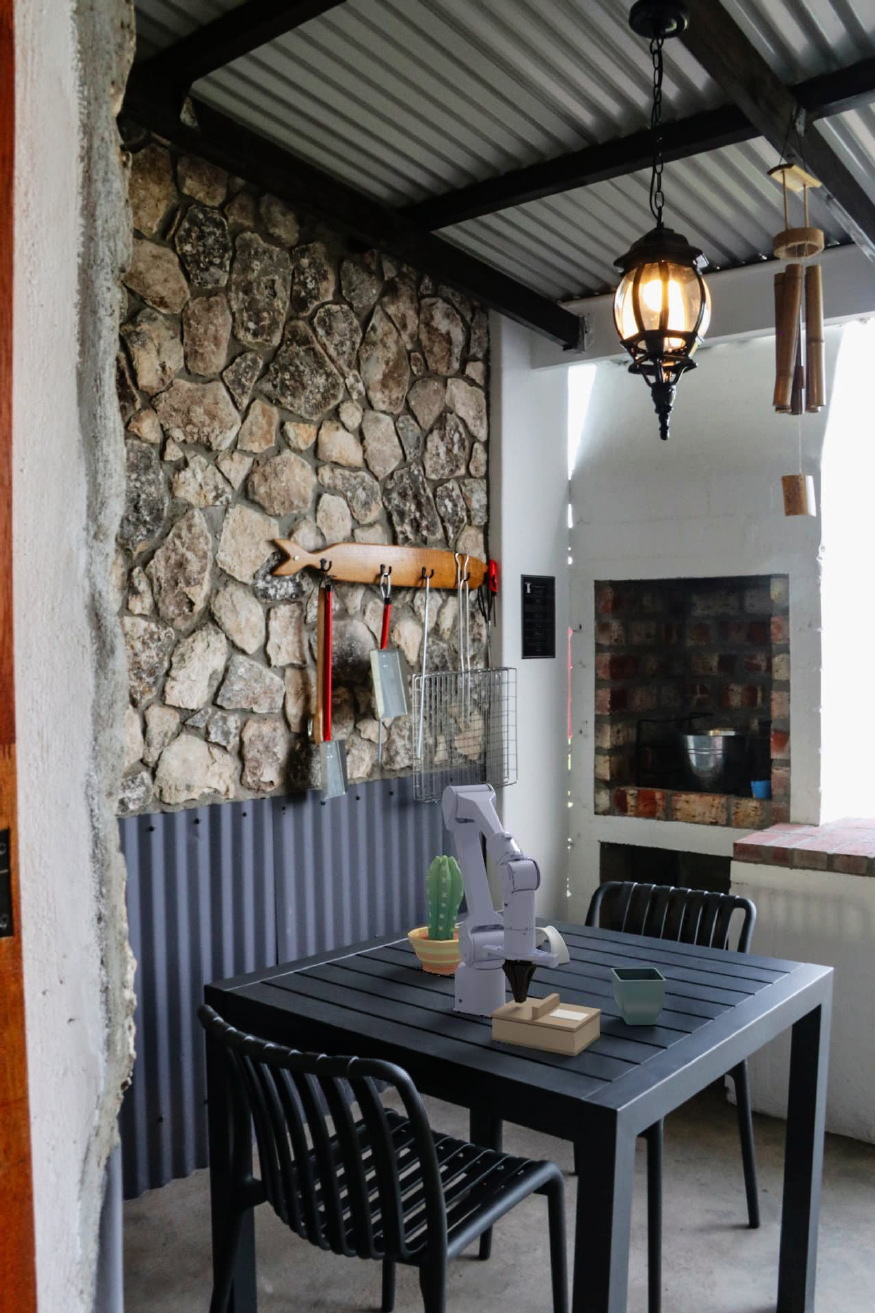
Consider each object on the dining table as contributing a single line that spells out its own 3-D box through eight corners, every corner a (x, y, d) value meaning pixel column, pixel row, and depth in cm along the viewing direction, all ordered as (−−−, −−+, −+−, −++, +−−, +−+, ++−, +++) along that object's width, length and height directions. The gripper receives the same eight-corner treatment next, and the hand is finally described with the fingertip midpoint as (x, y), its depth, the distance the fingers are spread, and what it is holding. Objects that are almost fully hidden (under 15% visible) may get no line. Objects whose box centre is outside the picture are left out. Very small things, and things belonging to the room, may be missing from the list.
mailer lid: (490, 1016, 193) (490, 1002, 193) (519, 999, 203) (519, 985, 203) (574, 1032, 184) (574, 1016, 184) (601, 1012, 194) (601, 998, 194)
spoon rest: (490, 944, 261) (490, 914, 261) (532, 938, 266) (532, 909, 266) (539, 968, 239) (539, 936, 240) (584, 962, 244) (584, 930, 244)
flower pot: (656, 1013, 207) (655, 966, 207) (667, 1029, 198) (667, 980, 198) (610, 1014, 207) (610, 967, 207) (620, 1030, 198) (619, 981, 198)
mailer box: (492, 1040, 193) (492, 1018, 193) (520, 1023, 202) (520, 1001, 202) (574, 1056, 185) (574, 1033, 185) (599, 1037, 194) (599, 1014, 194)
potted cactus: (478, 979, 231) (476, 862, 231) (406, 980, 231) (404, 863, 231) (477, 960, 246) (475, 850, 246) (409, 960, 246) (408, 851, 246)
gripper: (474, 926, 197) (475, 1001, 196) (546, 936, 189) (547, 1014, 189) (492, 918, 203) (493, 991, 202) (563, 927, 195) (564, 1003, 195)
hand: (520, 1001), depth 196 cm, fingers closed
